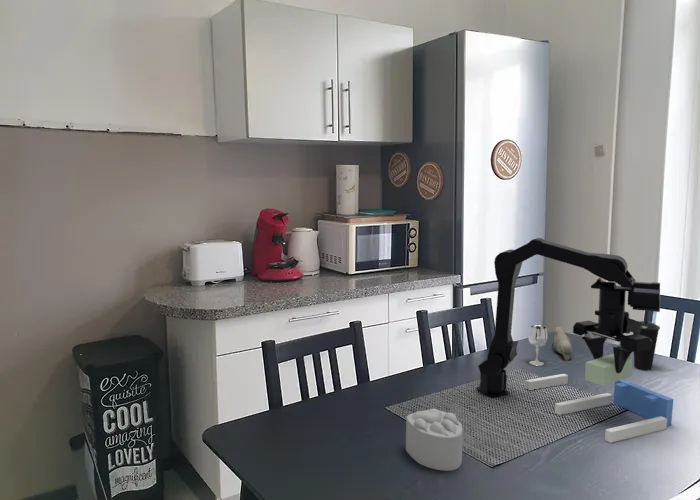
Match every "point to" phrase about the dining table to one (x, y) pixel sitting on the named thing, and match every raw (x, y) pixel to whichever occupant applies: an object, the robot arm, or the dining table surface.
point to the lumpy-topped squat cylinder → (434, 439)
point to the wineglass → (537, 340)
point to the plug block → (606, 370)
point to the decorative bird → (562, 343)
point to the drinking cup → (645, 358)
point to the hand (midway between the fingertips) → (608, 369)
